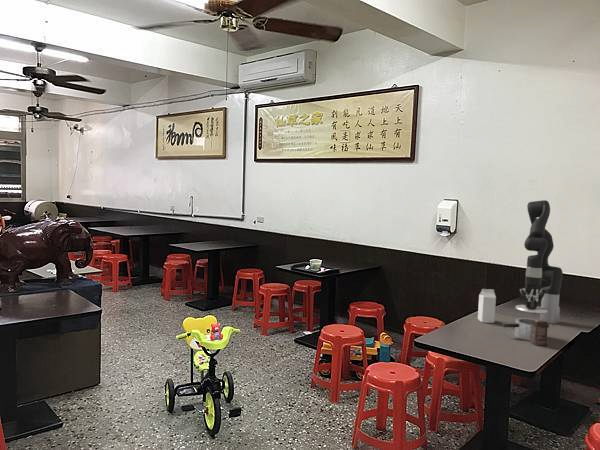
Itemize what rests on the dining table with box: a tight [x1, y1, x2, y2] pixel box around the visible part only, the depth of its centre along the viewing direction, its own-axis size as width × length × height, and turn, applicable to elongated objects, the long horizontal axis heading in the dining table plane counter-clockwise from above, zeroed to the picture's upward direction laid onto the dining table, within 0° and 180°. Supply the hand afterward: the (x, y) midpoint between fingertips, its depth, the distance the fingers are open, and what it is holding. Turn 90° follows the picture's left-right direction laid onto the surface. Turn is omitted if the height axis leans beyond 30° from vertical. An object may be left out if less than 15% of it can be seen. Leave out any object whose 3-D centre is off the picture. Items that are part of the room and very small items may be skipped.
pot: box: [501, 317, 550, 341], centre depth 243 cm, size 25×14×8 cm, turn 95°
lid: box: [514, 300, 547, 315], centre depth 243 cm, size 15×15×4 cm
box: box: [530, 319, 549, 346], centre depth 231 cm, size 6×4×12 cm
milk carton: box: [477, 288, 497, 324], centre depth 271 cm, size 7×7×19 cm
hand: (531, 308), depth 243 cm, fingers closed on lid, 3 cm apart
